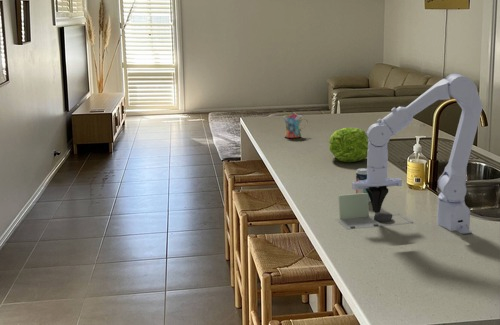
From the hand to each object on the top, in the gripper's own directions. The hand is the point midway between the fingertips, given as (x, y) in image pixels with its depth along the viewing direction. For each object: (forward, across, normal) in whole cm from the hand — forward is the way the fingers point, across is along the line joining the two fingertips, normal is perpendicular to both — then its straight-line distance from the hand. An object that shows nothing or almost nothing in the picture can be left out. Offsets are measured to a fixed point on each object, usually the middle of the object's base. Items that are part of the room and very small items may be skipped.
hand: (376, 211), depth 188 cm
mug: (+5, -18, -138) cm, 139 cm away
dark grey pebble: (+4, -3, -2) cm, 5 cm away
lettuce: (+5, -25, -86) cm, 90 cm away
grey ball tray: (+5, 0, -1) cm, 5 cm away
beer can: (+5, -5, -21) cm, 22 cm away
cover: (0, +4, -6) cm, 8 cm away
